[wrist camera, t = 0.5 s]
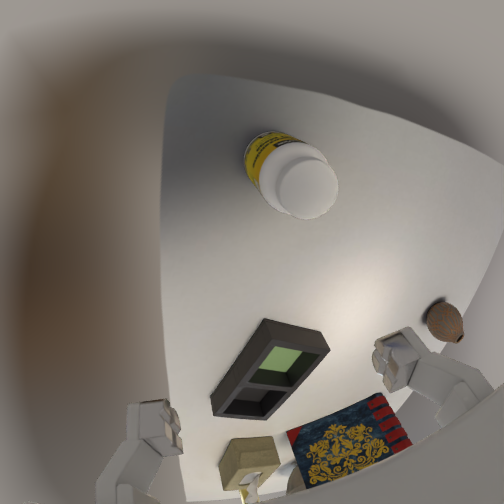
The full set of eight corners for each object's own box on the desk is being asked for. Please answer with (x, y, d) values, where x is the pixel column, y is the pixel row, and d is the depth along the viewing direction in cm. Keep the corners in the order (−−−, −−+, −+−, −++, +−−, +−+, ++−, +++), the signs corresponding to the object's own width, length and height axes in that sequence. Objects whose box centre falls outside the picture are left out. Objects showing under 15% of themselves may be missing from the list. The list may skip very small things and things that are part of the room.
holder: (264, 318, 41) (271, 338, 38) (320, 331, 46) (330, 350, 42) (210, 397, 48) (213, 416, 45) (261, 403, 52) (266, 420, 49)
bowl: (330, 443, 72) (342, 470, 64) (337, 457, 82) (347, 480, 74) (270, 465, 72) (278, 493, 64) (286, 476, 82) (294, 500, 74)
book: (384, 388, 62) (431, 469, 41) (382, 400, 65) (425, 475, 44) (285, 430, 61) (317, 522, 40) (290, 440, 64) (320, 523, 43)
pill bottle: (280, 119, 29) (327, 133, 20) (308, 166, 32) (359, 200, 23) (230, 152, 30) (253, 181, 20) (261, 197, 33) (295, 244, 23)
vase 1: (242, 479, 76) (251, 517, 64) (258, 479, 78) (268, 515, 66) (233, 485, 78) (242, 520, 66) (249, 484, 80) (258, 519, 68)
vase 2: (420, 309, 50) (447, 339, 42) (447, 290, 49) (474, 317, 42) (421, 329, 53) (445, 358, 46) (446, 312, 53) (470, 338, 45)
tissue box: (232, 438, 58) (246, 499, 44) (272, 435, 61) (291, 492, 47) (218, 466, 66) (228, 516, 53) (252, 463, 69) (265, 511, 55)
